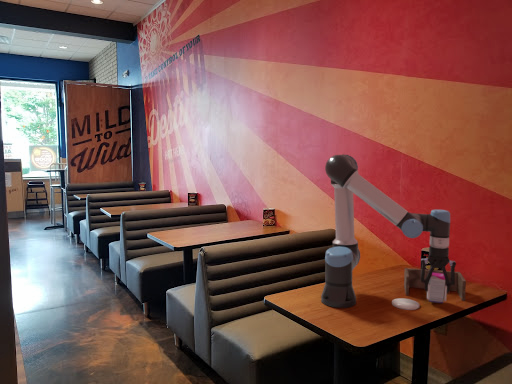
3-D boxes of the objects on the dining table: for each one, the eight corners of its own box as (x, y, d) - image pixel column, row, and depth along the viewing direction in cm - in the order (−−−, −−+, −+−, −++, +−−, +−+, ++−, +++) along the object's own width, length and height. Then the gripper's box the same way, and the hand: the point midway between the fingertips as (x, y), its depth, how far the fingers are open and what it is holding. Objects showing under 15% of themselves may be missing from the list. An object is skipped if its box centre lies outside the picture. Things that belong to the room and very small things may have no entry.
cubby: (405, 295, 179) (406, 276, 178) (404, 285, 191) (404, 268, 190) (465, 300, 171) (465, 280, 170) (459, 290, 184) (460, 272, 183)
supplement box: (443, 303, 166) (445, 280, 163) (428, 301, 169) (429, 278, 165) (442, 296, 171) (444, 273, 168) (428, 294, 174) (429, 271, 170)
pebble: (392, 308, 164) (392, 306, 164) (391, 298, 175) (391, 297, 174) (420, 311, 161) (420, 309, 161) (418, 301, 171) (418, 299, 171)
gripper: (415, 246, 164) (413, 299, 167) (465, 250, 159) (462, 304, 161) (414, 242, 171) (412, 293, 174) (461, 245, 166) (459, 298, 168)
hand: (436, 298), depth 167 cm, fingers closed on supplement box, 6 cm apart
